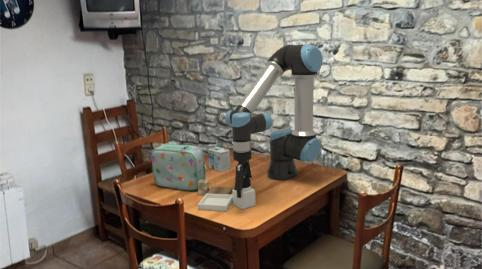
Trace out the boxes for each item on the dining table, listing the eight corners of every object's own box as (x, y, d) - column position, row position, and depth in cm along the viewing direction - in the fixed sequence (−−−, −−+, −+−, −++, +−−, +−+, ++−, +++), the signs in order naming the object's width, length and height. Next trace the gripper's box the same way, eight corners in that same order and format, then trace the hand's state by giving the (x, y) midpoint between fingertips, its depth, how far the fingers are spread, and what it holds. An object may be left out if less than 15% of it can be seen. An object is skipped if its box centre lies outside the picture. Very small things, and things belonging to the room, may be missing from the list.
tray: (234, 200, 198) (233, 194, 198) (226, 211, 186) (226, 205, 186) (206, 198, 201) (206, 193, 200) (197, 209, 189) (197, 204, 189)
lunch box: (210, 186, 217) (208, 143, 212) (200, 193, 208) (197, 148, 202) (163, 180, 228) (160, 139, 222) (152, 187, 218) (148, 144, 213)
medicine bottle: (256, 205, 191) (255, 178, 189) (242, 209, 187) (241, 182, 185) (246, 200, 197) (245, 174, 194) (232, 204, 193) (231, 178, 190)
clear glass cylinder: (209, 192, 209) (208, 180, 207) (206, 195, 205) (206, 182, 203) (201, 191, 210) (200, 179, 208) (198, 195, 206) (197, 182, 204)
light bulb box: (208, 168, 244) (207, 148, 241) (218, 165, 248) (217, 146, 246) (221, 172, 236) (220, 152, 234) (231, 169, 241) (230, 149, 238)
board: (233, 192, 208) (232, 187, 208) (228, 199, 201) (228, 193, 200) (212, 191, 210) (211, 186, 210) (207, 198, 203) (206, 193, 202)
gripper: (240, 142, 199) (242, 187, 204) (225, 158, 176) (227, 209, 181) (256, 142, 197) (258, 188, 202) (244, 159, 174) (245, 210, 179)
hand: (243, 198), depth 191 cm, fingers open, 13 cm apart
